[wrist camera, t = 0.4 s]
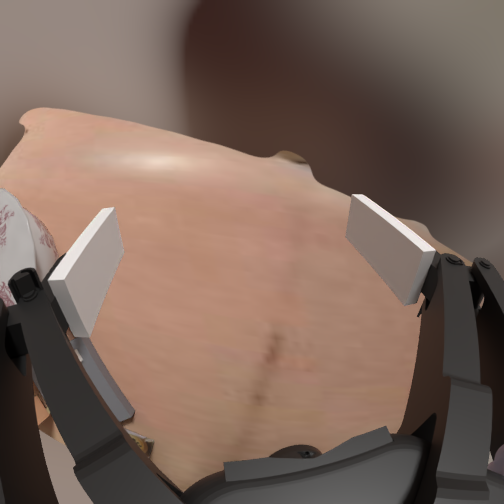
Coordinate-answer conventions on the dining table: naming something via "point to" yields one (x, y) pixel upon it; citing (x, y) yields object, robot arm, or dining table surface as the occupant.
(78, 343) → the socket plate
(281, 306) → the dining table surface
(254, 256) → the dining table surface
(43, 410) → the tan rectangular block
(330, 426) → the dining table surface
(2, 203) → the chamber pot
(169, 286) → the dining table surface
